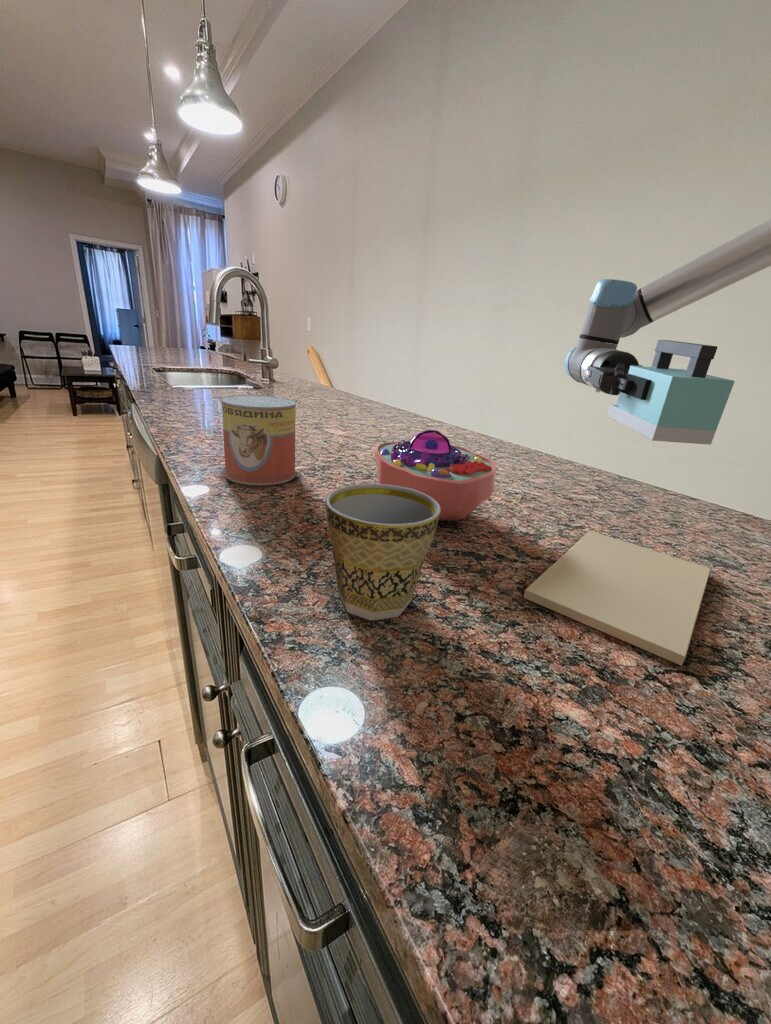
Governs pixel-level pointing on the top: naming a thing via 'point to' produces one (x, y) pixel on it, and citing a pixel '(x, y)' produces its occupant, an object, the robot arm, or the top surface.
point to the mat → (626, 593)
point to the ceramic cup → (379, 545)
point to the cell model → (437, 472)
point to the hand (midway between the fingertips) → (677, 392)
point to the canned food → (259, 439)
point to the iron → (676, 397)
